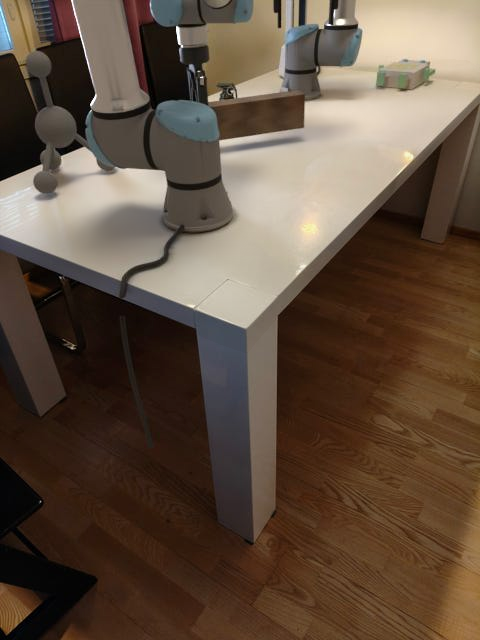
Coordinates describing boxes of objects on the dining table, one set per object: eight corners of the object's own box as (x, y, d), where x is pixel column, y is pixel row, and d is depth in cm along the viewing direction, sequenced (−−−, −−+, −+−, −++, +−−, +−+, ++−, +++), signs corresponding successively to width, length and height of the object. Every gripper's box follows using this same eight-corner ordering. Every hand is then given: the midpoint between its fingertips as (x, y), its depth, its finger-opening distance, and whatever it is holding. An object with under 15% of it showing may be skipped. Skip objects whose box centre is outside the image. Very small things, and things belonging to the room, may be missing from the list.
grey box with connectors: (392, 57, 203) (441, 60, 193) (390, 73, 207) (438, 78, 197) (367, 69, 187) (418, 73, 177) (365, 87, 191) (415, 92, 181)
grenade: (217, 117, 168) (214, 86, 162) (221, 112, 172) (219, 82, 166) (235, 117, 166) (233, 86, 160) (239, 113, 171) (238, 82, 165)
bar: (191, 144, 136) (187, 110, 130) (187, 139, 140) (183, 105, 134) (304, 127, 142) (305, 94, 136) (297, 122, 146) (298, 89, 140)
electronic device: (284, 79, 208) (284, -5, 189) (278, 76, 213) (278, -6, 195) (311, 76, 210) (314, -7, 191) (304, 73, 216) (307, -8, 197)
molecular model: (127, 184, 124) (101, 51, 106) (38, 200, 118) (-6, 64, 100) (112, 155, 142) (87, 38, 123) (33, 169, 136) (-5, 48, 118)
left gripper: (216, 49, 117) (223, 146, 132) (200, 38, 131) (208, 126, 146) (186, 52, 116) (196, 150, 130) (172, 41, 130) (183, 130, 144)
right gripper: (357, -81, 118) (349, 21, 131) (254, -74, 119) (257, 26, 132) (364, -82, 112) (355, 25, 126) (256, -75, 113) (258, 30, 126)
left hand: (202, 137), depth 138 cm, fingers closed on bar, 5 cm apart
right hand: (305, 26), depth 129 cm, fingers open, 13 cm apart
